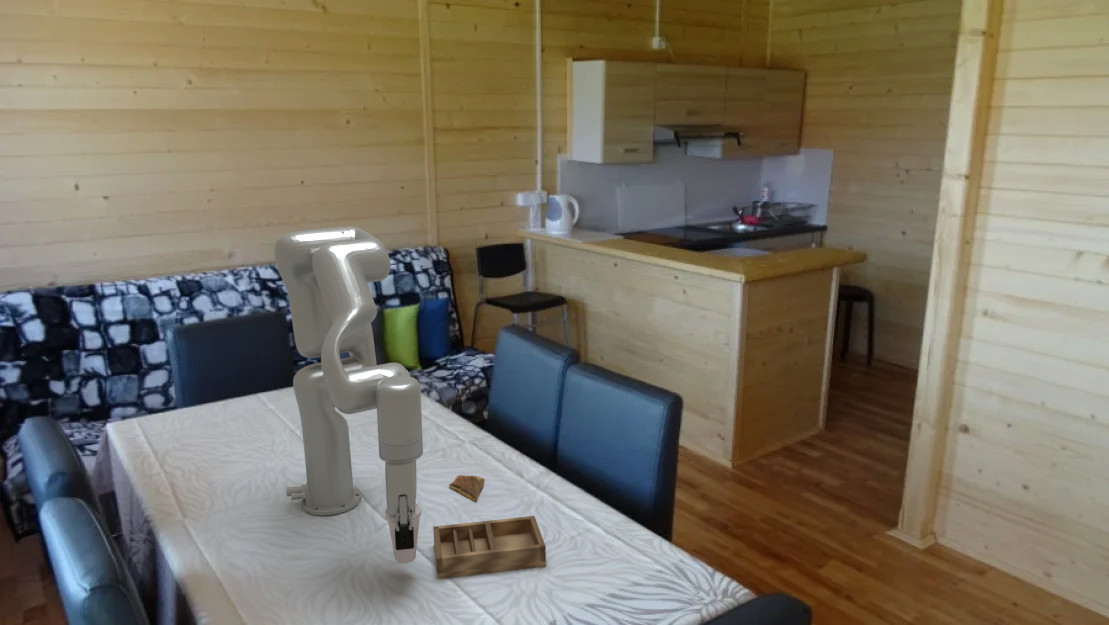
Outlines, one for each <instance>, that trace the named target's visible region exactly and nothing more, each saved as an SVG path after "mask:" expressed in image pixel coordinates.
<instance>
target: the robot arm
mask: <svg viewBox="0 0 1109 625" xmlns="http://www.w3.org/2000/svg"><path fill="white" fill-rule="evenodd" d="M274 260H275V264H276V268H277V271H278V273H279V275H280V277H281V279H282V281H283V283H284V286H285V288H286V291H287V294H288V299H289V306H290V314H291V322H292V329H293V336H294V342H295V346H296V350H297V351H298V353H299V355H301V356H302V357H303V358H311V359H313V358H321V360H320V362H317V363H312V364H309V365H307V366H304V367H302V368H300V369H299V370H298V371H297V372H296V373H295V375H294V376H293V379H292V380H293V381H292V384H293V392H294V396H295V399H296V403H297V406H298V407H297V408H298V412H299V416H300V421H301V430H302V431H301V433H302V441H303V454H304V464H305V472H306V474H305V476H306V482H305V484H301V486H290V487H289V486H287V487H286V497H291V498H290V499H291V500H292V501H294V500H301V501H300V502H301V509H302V510H303V511H305V513H308V514H311V515H314V516H333V515H338V514H342V513H345V512H347V511H350V510H352V509H354V508H355V507H357V505H359V504H360V502H361V501H362V492H361V490H359V488H357V487H355V486H354V481H353V468H352V467H353V466H352V456H351V455H352V454H351V443H350V442H351V441H350V431H349V430H350V429H349V423H348V421H347V419H346V418H345V416H343V415H342V414H346V415H353V414H358V413H363V412H367V411H372V410H376V416H377V419H376V420H377V421H376V422H377V437H378V438H377V439H378V456H379V459H380V460H381V461H383V462H385V463H384V466H385V467H384V469H385V470H384V472H385V473H384V474H385V478H384V479H385V495H386V496H385V497H386V498H385V499H386V509H387V515H388V516H394V515H395V516H396V529H395V545H396V550H405V549H413V548H414V529H413V527H412V514H414V513H415V507H416V502H417V481H418V480H417V461H418V459H420V458H421V457H422V456H423V454H424V448H423V446H424V445H423V421H422V420H423V417H422V416H423V415H422V414H423V413H422V390H421V384H420V382H419V381H418V379H416V378H415V377H413V376H411V375H410V372H409V371H408V369H406V367H405V366H404V365H402V364H401V363H399V362H388V363H383V364H379V365H378V364H377V357H376V356H377V355H376V350H375V341H374V339H375V338H374V333H373V328H372V323H373V321H374V320H375V319H376V316H377V314H378V309H377V306H376V303H375V301H374V298H373V296H372V293H371V290H370V287H369V285H368V284H369V283H375V282H381V281H384V280H385V279H387V278H388V276H389V274H390V271H391V260H390V256H389V254H388V251H387V248H386V247H385V246H384V244H383V243H382V242H381V240H379V239H378V238H377V237H375V236H374V235H373V234H370V233H369V232H368V231H365V230H363V229H361V228H360V227H357V226H340V227H339V226H338V227H327V228H326V227H325V228H315V229H313V228H311V229H305V230H304V229H303V230H297V231H292V232H288V233H285V234H283V235H281V236H280V237H278V239H277V240H276V242H275V245H274ZM344 353H348V355H349V357H345V358H341V355H340V354H344ZM336 409H337V410H336ZM341 413H342V414H341ZM407 508H409V511H407ZM398 509H400V512H398ZM408 515H409V520H407V516H408ZM399 516H400V521H399Z"/></svg>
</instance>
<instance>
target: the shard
mask: <svg viewBox="0 0 1109 625" xmlns="http://www.w3.org/2000/svg"><path fill="white" fill-rule="evenodd" d="M484 482H485V478H484V477H481V476H477V475H457V476H456V477H455V479H454V480H453V481H452V482H451V483H450V484H448V487H449V489H451V490H454V491H457V492H458V493H459V494H461V495H462V496H463V497H465V498H466V499H469V500H470V501H472V502H475V503H477V501H478V499H479V497H478V496H479V493H480V491H481V490H482V487H483V485H484Z"/></svg>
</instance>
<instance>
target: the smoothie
mask: <svg viewBox="0 0 1109 625" xmlns="http://www.w3.org/2000/svg"><path fill="white" fill-rule="evenodd" d="M407 511H409V508H407ZM398 512H400V509H398ZM422 513H423V512H422V507H421V506H420V505H419V504H418V503H416V507H415V513H414V514H412V527H413V529H414V548H413V549H405V550H396V545H395V529H396V516H395V515H394V516H388V515H387V508H386V509H385V519H386V520H387V524H388V528H389V534H390V540H391V544H392V550H393V555H394V560H395V562H397V563H399V564H409V563H412V562H413V561H415V560H416V558H417V556H416V555H417V549H418V548H417V547H418V537H419V527H420V518H421V517H422V515H423V514H422ZM407 520H409V515H408V516H407ZM399 521H400V516H399Z"/></svg>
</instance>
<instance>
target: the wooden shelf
mask: <svg viewBox="0 0 1109 625" xmlns="http://www.w3.org/2000/svg"><path fill="white" fill-rule="evenodd" d="M537 522H538V521H537V519H536V516H535V515H529V516H521V517H511V518H510V517H509V518H503V519H493V520H491V519H490V520H482V521H475V522H474V521H473V522H466V523H464V522H463V523H455V524H446V525H445V524H444V525H436V526H433V528H432V530H433V531H432V532H433V546H434V556H435V566H436V575H437V580H439V579H440V580H441V579H447V578H455V577H456V578H457V577H464V576H473V575H480V574H489V573H497V572H499V573H500V572H505V571H515V570H522V569H531V568H540V567H547V566H546V565H547V560H546V558H547V551H546V548H547V547H546V543H545V542H544V538H543V536H542V534H541V531H540V527H539V524H538V523H537Z"/></svg>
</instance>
